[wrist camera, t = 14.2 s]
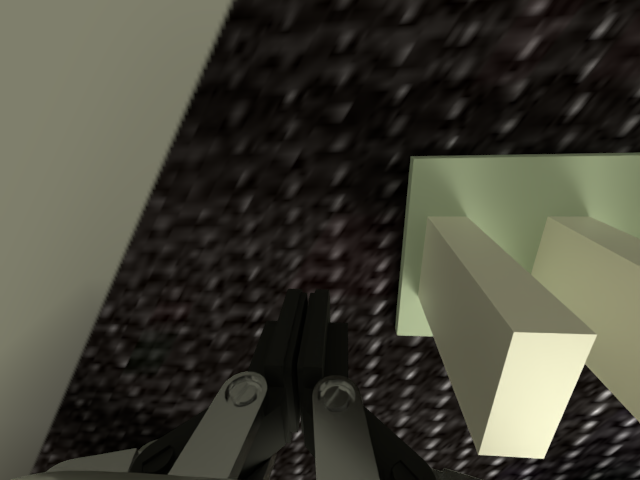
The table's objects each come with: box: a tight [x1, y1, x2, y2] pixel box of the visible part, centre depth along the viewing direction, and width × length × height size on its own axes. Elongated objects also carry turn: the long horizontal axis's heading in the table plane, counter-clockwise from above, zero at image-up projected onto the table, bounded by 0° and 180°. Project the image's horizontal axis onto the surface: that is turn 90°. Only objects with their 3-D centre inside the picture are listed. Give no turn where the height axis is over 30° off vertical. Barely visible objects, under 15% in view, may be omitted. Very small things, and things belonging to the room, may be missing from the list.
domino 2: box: [531, 216, 640, 422], centre depth 12 cm, size 2×5×9 cm, turn 2°
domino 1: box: [418, 216, 597, 459], centre depth 13 cm, size 2×5×9 cm, turn 2°
